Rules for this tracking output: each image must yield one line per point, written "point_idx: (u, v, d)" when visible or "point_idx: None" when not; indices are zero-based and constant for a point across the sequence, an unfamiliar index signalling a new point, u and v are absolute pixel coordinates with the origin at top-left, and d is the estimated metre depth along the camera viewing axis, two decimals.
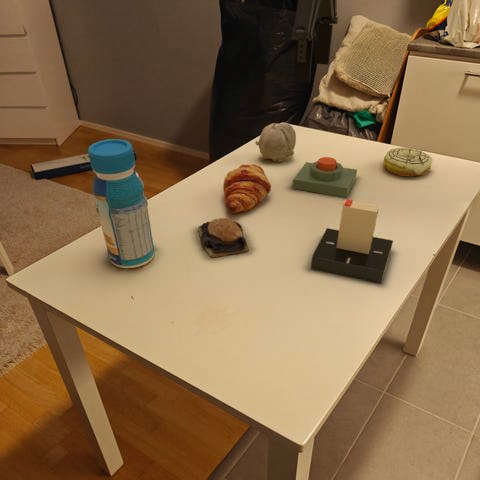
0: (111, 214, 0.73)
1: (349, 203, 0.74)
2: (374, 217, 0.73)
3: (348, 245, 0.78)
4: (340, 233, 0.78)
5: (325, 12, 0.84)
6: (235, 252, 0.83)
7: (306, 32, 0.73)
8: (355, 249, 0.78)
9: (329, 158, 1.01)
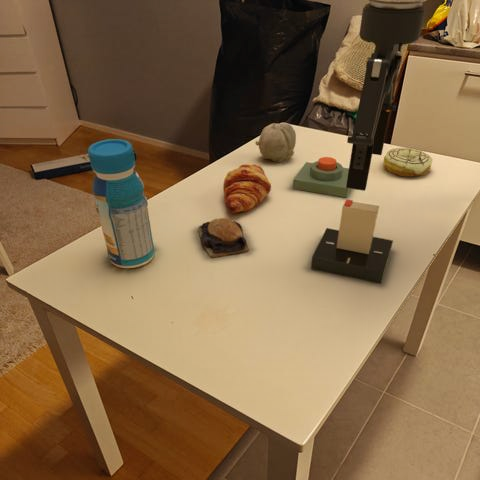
0: (111, 214, 0.73)
1: (349, 203, 0.74)
2: (374, 217, 0.73)
3: (348, 245, 0.78)
4: (340, 233, 0.78)
5: None
6: (235, 252, 0.83)
7: (369, 140, 0.58)
8: (355, 249, 0.78)
9: (329, 158, 1.01)
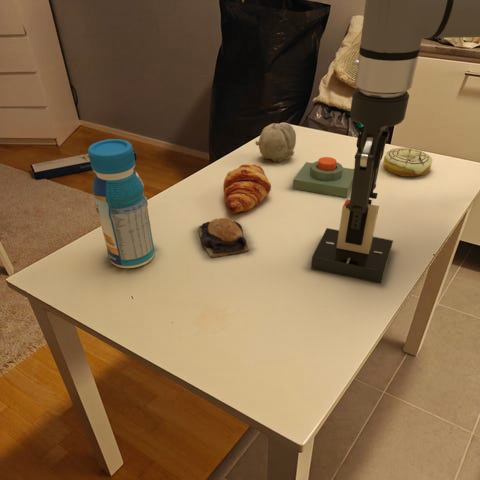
0: (111, 214, 0.73)
1: None
2: (374, 217, 0.73)
3: (348, 245, 0.78)
4: (340, 233, 0.78)
5: None
6: (235, 252, 0.83)
7: (363, 211, 0.70)
8: (355, 249, 0.78)
9: (329, 158, 1.01)
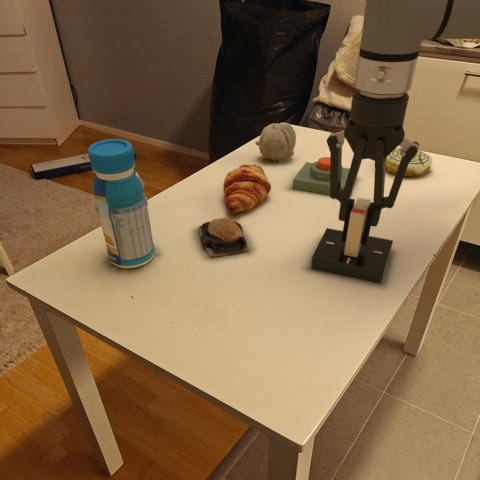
0: (111, 214, 0.73)
1: (360, 210, 0.73)
2: (369, 205, 0.76)
3: (359, 247, 0.78)
4: (359, 241, 0.76)
5: (353, 185, 0.73)
6: (235, 252, 0.83)
7: None
8: (360, 245, 0.79)
9: (329, 158, 1.01)
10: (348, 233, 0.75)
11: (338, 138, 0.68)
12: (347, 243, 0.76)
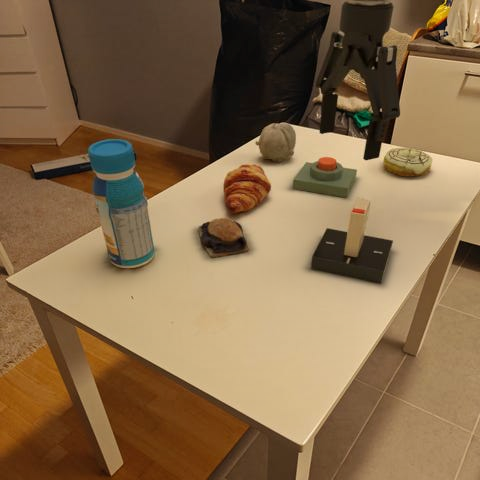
0: (111, 214, 0.73)
1: (360, 210, 0.73)
2: (369, 205, 0.76)
3: (359, 247, 0.78)
4: (359, 241, 0.76)
5: (335, 83, 0.80)
6: (235, 252, 0.83)
7: (399, 112, 0.70)
8: (360, 245, 0.79)
9: (329, 158, 1.01)
10: (348, 233, 0.75)
11: (340, 39, 0.75)
12: (347, 243, 0.76)
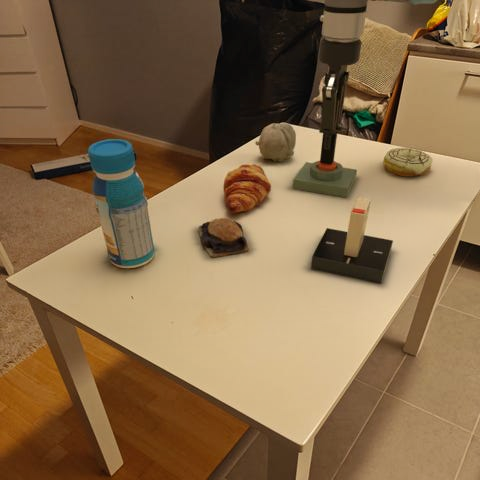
0: (111, 214, 0.73)
1: (360, 210, 0.73)
2: (369, 205, 0.76)
3: (359, 247, 0.78)
4: (359, 241, 0.76)
5: None
6: (235, 252, 0.83)
7: (331, 132, 0.93)
8: (360, 245, 0.79)
9: None
10: (348, 233, 0.75)
11: None
12: (347, 243, 0.76)
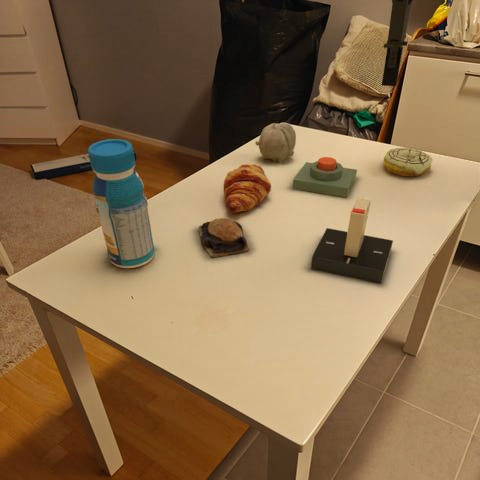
0: (111, 214, 0.73)
1: (360, 210, 0.73)
2: (369, 205, 0.76)
3: (359, 247, 0.78)
4: (359, 241, 0.76)
5: None
6: (235, 252, 0.83)
7: (400, 43, 0.83)
8: (360, 245, 0.79)
9: (329, 158, 1.01)
10: (348, 233, 0.75)
11: None
12: (347, 243, 0.76)
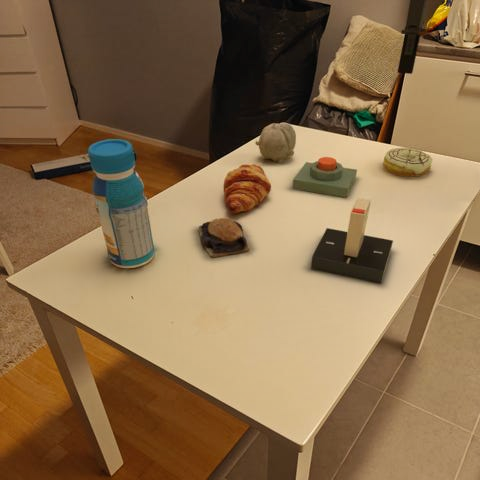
0: (111, 214, 0.73)
1: (360, 210, 0.73)
2: (369, 205, 0.76)
3: (359, 247, 0.78)
4: (359, 241, 0.76)
5: None
6: (235, 252, 0.83)
7: (418, 30, 0.82)
8: (360, 245, 0.79)
9: (329, 158, 1.01)
10: (348, 233, 0.75)
11: None
12: (347, 243, 0.76)
